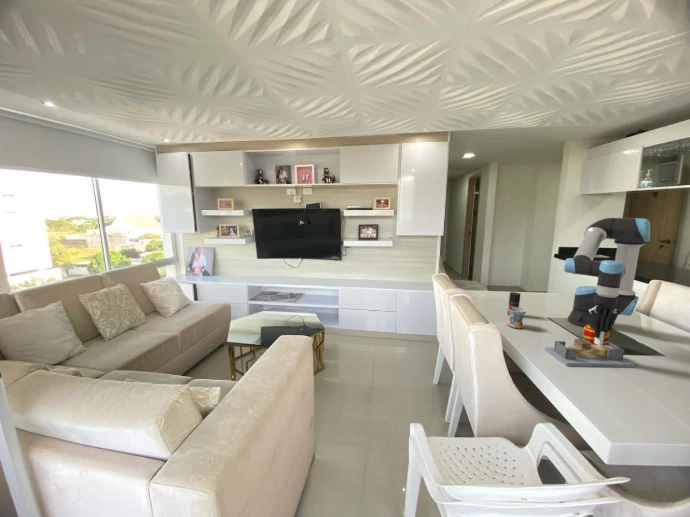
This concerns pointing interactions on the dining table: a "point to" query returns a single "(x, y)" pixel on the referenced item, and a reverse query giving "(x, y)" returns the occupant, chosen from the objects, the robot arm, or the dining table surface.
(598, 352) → the tan stepped wooden block
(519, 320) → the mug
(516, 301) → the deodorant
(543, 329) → the dining table surface
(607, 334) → the potion bottle
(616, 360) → the grey slat holder base
